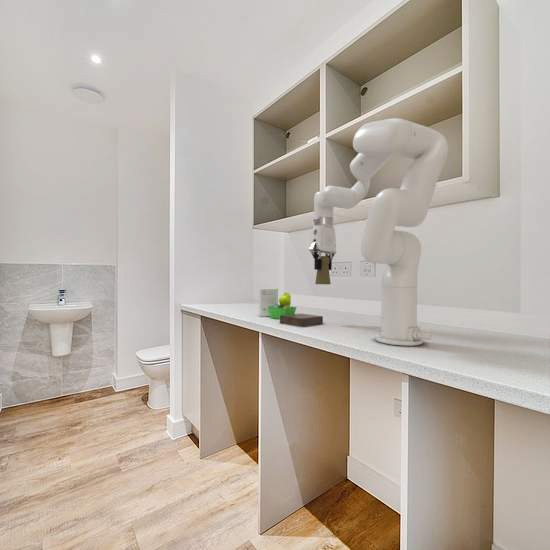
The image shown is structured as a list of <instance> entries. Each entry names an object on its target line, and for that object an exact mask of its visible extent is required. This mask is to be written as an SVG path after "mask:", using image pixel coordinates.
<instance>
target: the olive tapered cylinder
mask: <svg viewBox="0 0 550 550" xmlns="http://www.w3.org/2000/svg"><path fill="white" fill-rule="evenodd" d="M320 259H322V269H321V270H316V275H315V282H314V284H315V285H331V284H332V283H331V277H330V270H329V266H328V264H329V263H330V259H329V257H327V256H325V255H321V258H320Z"/></svg>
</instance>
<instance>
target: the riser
mask: <svg viewBox="0 0 550 550" xmlns="http://www.w3.org/2000/svg"><path fill="white" fill-rule="evenodd" d="M279 324H283V325H290V326H293V327H294V326H296V327H301V328H303V327H309V326H310V327H311V326H318V325H323V324H324V316H323V315H316V314H310V313H309V314H308V313H295V314H291V315H280V319H279Z"/></svg>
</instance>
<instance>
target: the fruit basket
mask: <svg viewBox="0 0 550 550" xmlns="http://www.w3.org/2000/svg"><path fill="white" fill-rule="evenodd" d="M291 298H292V296H291V295H290V293H288V292H284V293H283V294H282V296H280V297H279V298H278V304H276V305H274V306H269V307H268V309H269V312H270V316H269V317H270V318H271V319H274V320H275V319H277V320H280V315H291V314H296V310H297V306H291V303H292V299H291Z"/></svg>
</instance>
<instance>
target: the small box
mask: <svg viewBox="0 0 550 550" xmlns="http://www.w3.org/2000/svg"><path fill="white" fill-rule="evenodd" d="M276 304H278V305H279V288H277V287H259V316H260V317H271V316H270V312H269V309H268V307H269V306H274V305H276Z"/></svg>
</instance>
